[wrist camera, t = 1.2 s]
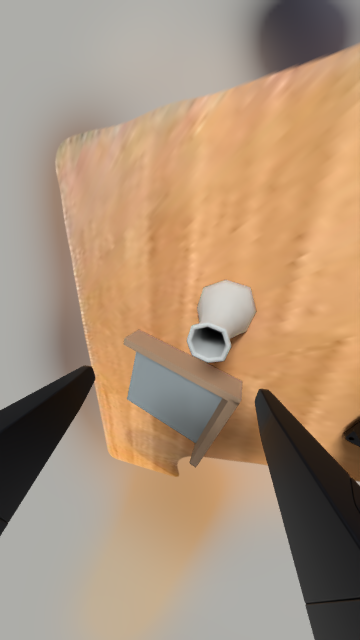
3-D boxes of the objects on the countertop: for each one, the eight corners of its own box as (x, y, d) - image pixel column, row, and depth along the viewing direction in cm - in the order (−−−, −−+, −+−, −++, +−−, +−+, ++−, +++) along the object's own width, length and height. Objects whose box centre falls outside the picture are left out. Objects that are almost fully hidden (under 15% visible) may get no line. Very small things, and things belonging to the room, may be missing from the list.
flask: (197, 279, 20) (158, 292, 11) (260, 278, 17) (272, 294, 9) (197, 331, 22) (166, 375, 14) (253, 338, 20) (258, 397, 11)
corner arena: (242, 381, 22) (241, 399, 19) (201, 446, 30) (195, 467, 27) (138, 329, 26) (124, 337, 23) (125, 398, 34) (113, 411, 31)
